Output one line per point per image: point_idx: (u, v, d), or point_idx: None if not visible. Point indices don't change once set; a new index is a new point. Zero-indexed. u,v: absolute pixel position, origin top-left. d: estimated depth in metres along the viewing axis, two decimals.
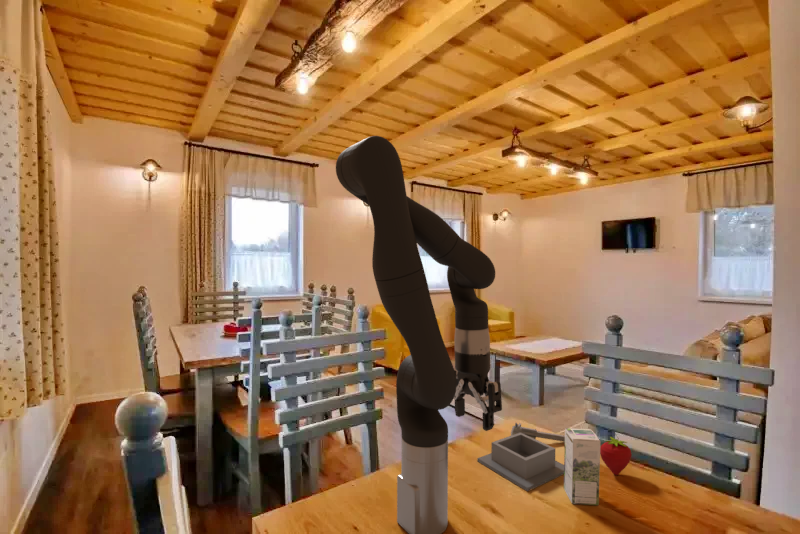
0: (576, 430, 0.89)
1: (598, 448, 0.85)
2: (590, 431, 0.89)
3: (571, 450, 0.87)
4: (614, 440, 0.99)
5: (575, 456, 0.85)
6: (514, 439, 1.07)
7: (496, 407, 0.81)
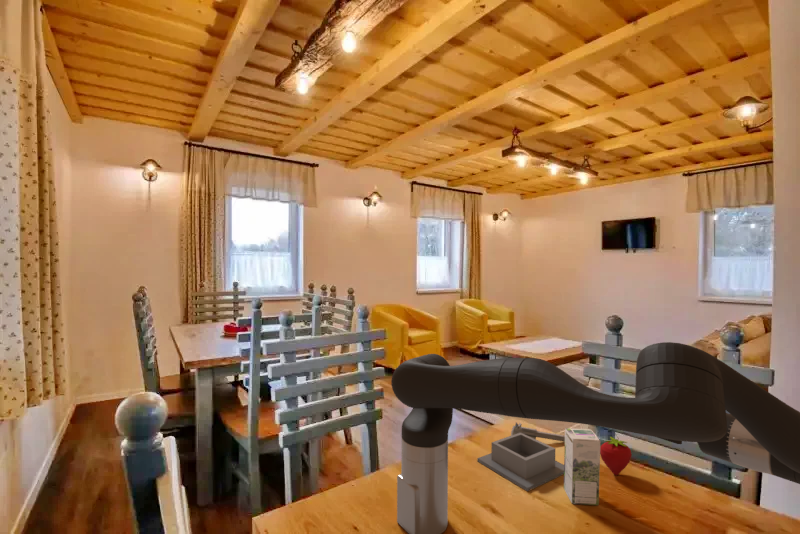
0: (576, 430, 0.89)
1: (598, 448, 0.85)
2: (590, 431, 0.89)
3: (571, 450, 0.87)
4: (614, 440, 0.99)
5: (574, 456, 0.85)
6: (514, 439, 1.07)
7: None
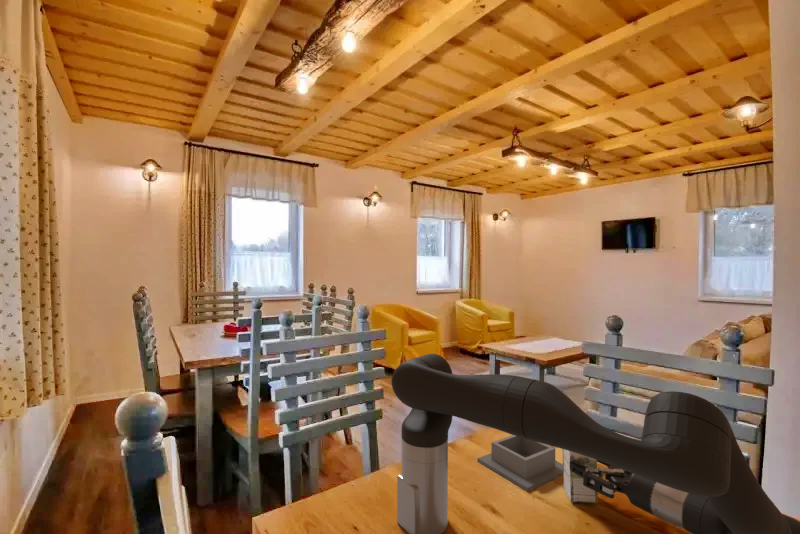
0: None
1: None
2: None
3: None
4: None
5: (571, 452, 0.86)
6: (514, 439, 1.07)
7: None
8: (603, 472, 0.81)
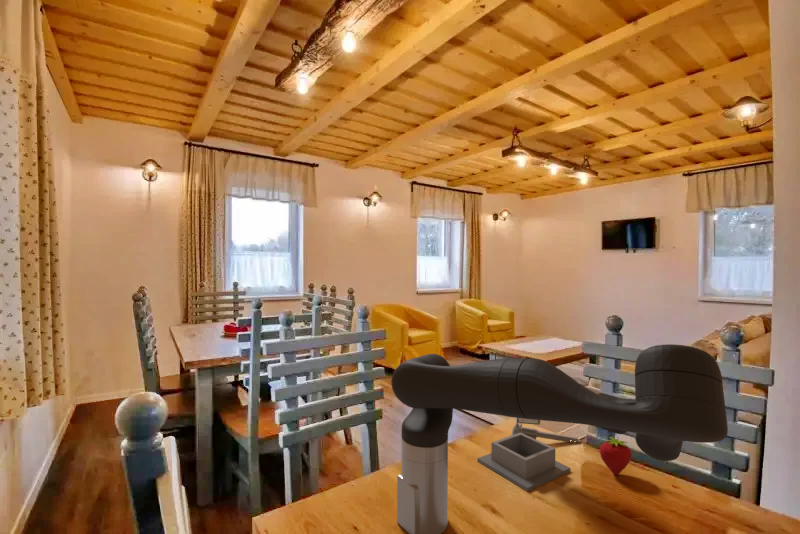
0: None
1: None
2: None
3: None
4: (614, 440, 0.99)
5: None
6: (514, 439, 1.07)
7: None
8: None
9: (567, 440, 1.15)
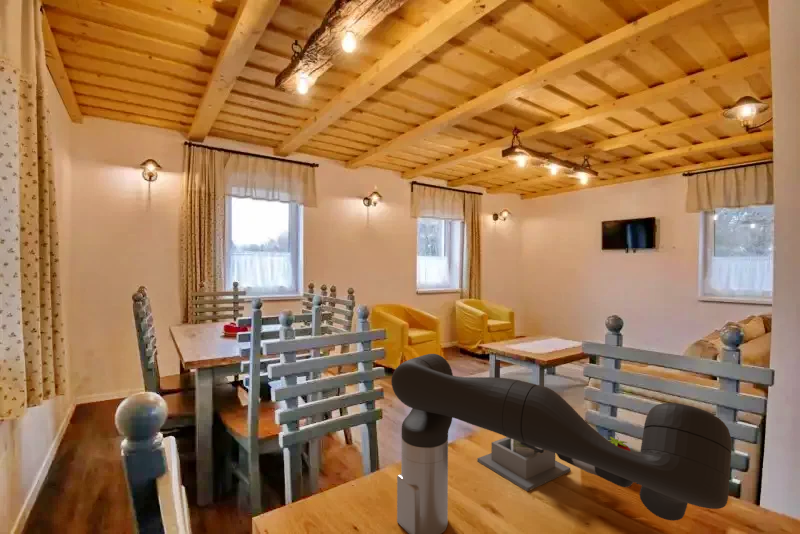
0: None
1: None
2: None
3: None
4: (614, 440, 0.99)
5: None
6: None
7: None
8: None
9: None
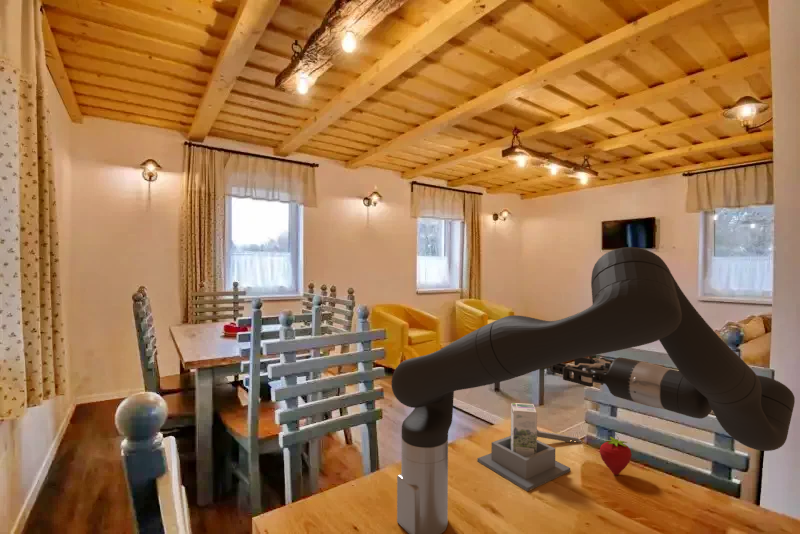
0: (520, 404, 1.03)
1: (535, 419, 0.98)
2: (531, 405, 1.02)
3: (512, 421, 1.00)
4: (614, 440, 0.99)
5: (515, 425, 0.99)
6: None
7: None
8: (583, 366, 0.79)
9: (567, 440, 1.15)
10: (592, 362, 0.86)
